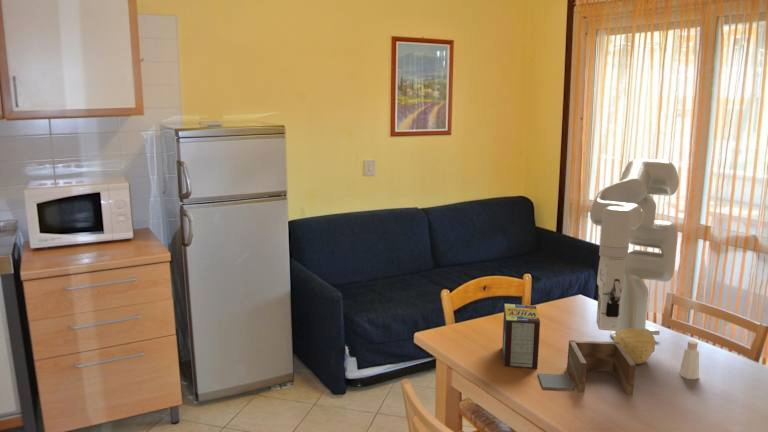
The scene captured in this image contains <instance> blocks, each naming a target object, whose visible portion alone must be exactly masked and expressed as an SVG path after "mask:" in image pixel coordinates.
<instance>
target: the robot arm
mask: <svg viewBox="0 0 768 432" xmlns="http://www.w3.org/2000/svg"><path fill="white" fill-rule="evenodd" d="M679 182H680V177H679V174H678V170H677V169H676V166H675V165H674V163H672V162H671V161H670V160H666V159H649V158H636V159H632V160H631V161H630V160H629V162H628V163H627V164H626V166H625V167H624V170H623V171H622V174H621V177H620V179H619V181H618V182H614V183H612V184H610V185H608V186H606V187H604V188H602V189H601V190H599V191H598V193H597V194H596V196H595V198H594V200H593V202H592V204H591V207H590V211H589V212H590V213H589V217H590V221H591V223H592V224H593V225H595V226H598V227H601V229H600V242H599V250H598V251H599V253H598V255H599V256H600V257H599V262H598V268H597V277H596V278H597V279H596V284H597V286H598V288H599V287H600V279H601V280H603V282H604V284H603V292H605V293H608V303H607V309H606V316H607V317H618V313H619V303H620V297H621V293H622V303H621V318H620V330H619V331H621V330H623V329H626V328H635V329H643V330H644V331H646V332H648V333H650V334H652V335H653V336H660V334H661V333H660V332H661V331H660V330H659V329H654V328H653V327H648V326H646V324H647V323H646V322H647V312H648V304H649V295H650V293H649V289H648V288H649V287H648V286H647V284H646V282H645V281H644V280H649V281H654V282H661V283H662V282H664V283H665V282H670V281H671V280H672V278H673V277H674V273H675V269H676V268H675V266H676V256H677V249H678V236H679V233H678V227H677V225H676V224H675V223H674V222H671V221H668V220H667V221H666V220H659V219H656V212H657V203H656V201H655V199H654V198H653V196H652V195H655V196H665V197H668V196H670V197H671V196H673V195H674V194H676V192H677V191H678V189H679ZM629 245H633V246H636V247H641V248H650V249H657V250H660V252H654V251H649V250H641V249H629V247H630V246H629ZM620 289H621V291H620ZM611 290H614V292H611ZM611 295H614V296H613V297H612V298H611ZM619 331H610V336H611V338H612V339H614V338H615V336H616V334H617V333H618V332H619Z"/></svg>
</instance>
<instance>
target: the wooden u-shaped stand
mask: <svg viewBox="0 0 768 432" xmlns="http://www.w3.org/2000/svg"><path fill="white" fill-rule="evenodd" d="M566 361H567V363H566V365H567V366H566V368H567V370H568V373H569V374H570V376H571V379H572V381H573V383H574V386H575V387H576V389H577V392H578V393H583V394H584V393H585V390H586V389H585V388H586V377H587V374H586V373H587V371H594V372H613V374H614V376H615V377H616V379H617V380H618V383H620V385H621V387H622V389H623V390H624V391H625V393H626V394H627V395H629V396H634V388H635V378H636V377H635V376H636V367H637V364H634V362H633V361H632V360H631V358H630V357H629V355H628V354H627V353H626V351H625V350H624V349H623V347H622V346H621V345H620V343H619V342H613V341H596V340H595V341H594V340H571V339H569V340H568V351H567V360H566Z"/></svg>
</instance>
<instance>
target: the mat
mask: <svg viewBox="0 0 768 432" xmlns="http://www.w3.org/2000/svg"><path fill="white" fill-rule="evenodd" d="M537 377H538V379H539V382H540V385H541V387H542V389H543V390H553V391H555V390H557V391H576V390H575V389H576V388H575V385H574V384H573V382H572V380H571V379H572V378H570V376H569V374H565V373H564V374H562V373H561V374H559V373H542V372H541V373H537Z"/></svg>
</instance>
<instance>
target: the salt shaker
mask: <svg viewBox="0 0 768 432" xmlns="http://www.w3.org/2000/svg"><path fill="white" fill-rule="evenodd" d="M698 345H699V343H698V341H696V340H692V339H691V340H687V347H685V348H684V351H683V352H684V353H683V356H682V359H681V365H680V369H679V372H678V373H679V375H680V376H681V377H682V378H684V379H686V380H697V379H700V366H699V365H700V351H699V350H698Z"/></svg>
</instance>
